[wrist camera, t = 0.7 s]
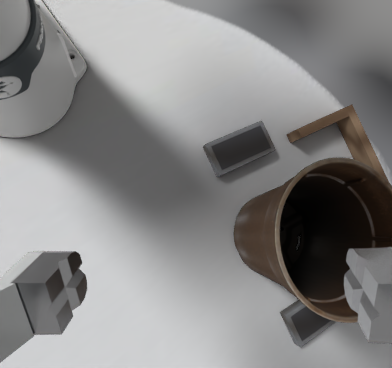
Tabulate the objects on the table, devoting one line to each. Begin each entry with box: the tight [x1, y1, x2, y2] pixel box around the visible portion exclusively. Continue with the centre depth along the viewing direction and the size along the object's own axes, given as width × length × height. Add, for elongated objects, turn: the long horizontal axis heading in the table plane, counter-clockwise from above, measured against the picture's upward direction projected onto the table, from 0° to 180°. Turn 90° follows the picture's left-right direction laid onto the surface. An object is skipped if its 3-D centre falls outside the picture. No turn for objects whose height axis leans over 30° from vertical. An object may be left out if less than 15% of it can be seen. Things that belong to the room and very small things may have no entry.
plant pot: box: [234, 158, 392, 323], centre depth 37 cm, size 16×16×16 cm
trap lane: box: [203, 105, 389, 347], centre depth 46 cm, size 32×26×3 cm
